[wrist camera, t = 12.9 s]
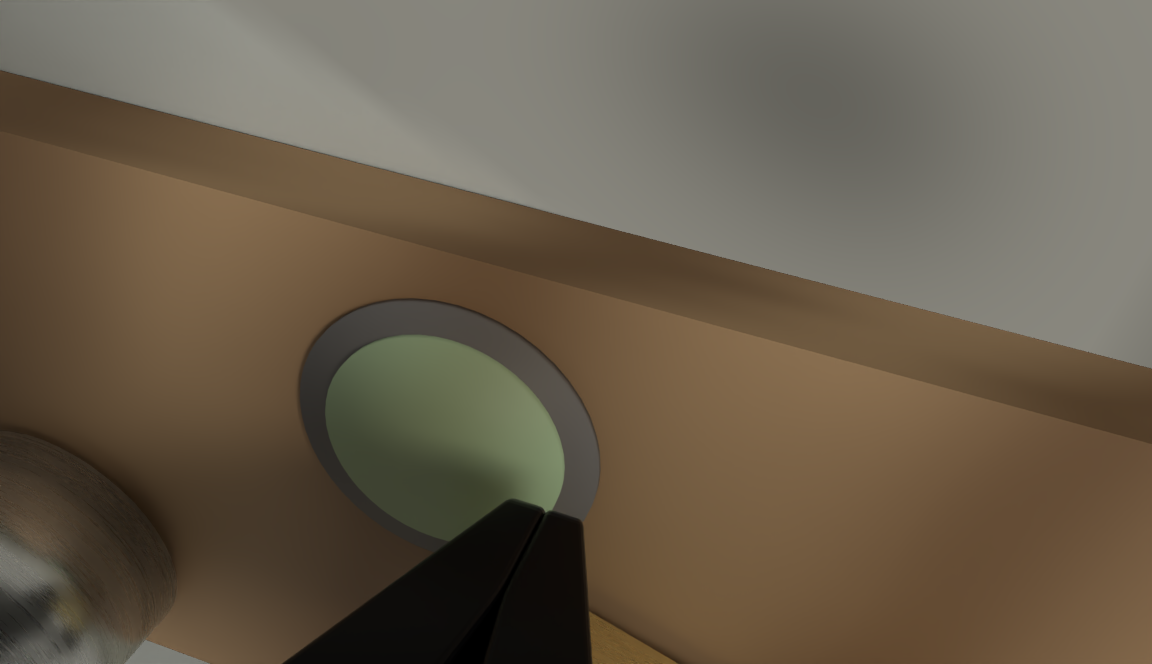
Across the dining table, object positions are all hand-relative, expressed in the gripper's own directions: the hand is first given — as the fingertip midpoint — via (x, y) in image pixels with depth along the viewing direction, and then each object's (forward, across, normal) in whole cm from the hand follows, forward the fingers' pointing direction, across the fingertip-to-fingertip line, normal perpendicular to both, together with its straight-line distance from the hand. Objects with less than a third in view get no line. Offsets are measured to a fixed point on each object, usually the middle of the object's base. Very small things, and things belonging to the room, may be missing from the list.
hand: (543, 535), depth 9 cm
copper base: (+2, +2, +2) cm, 4 cm away
